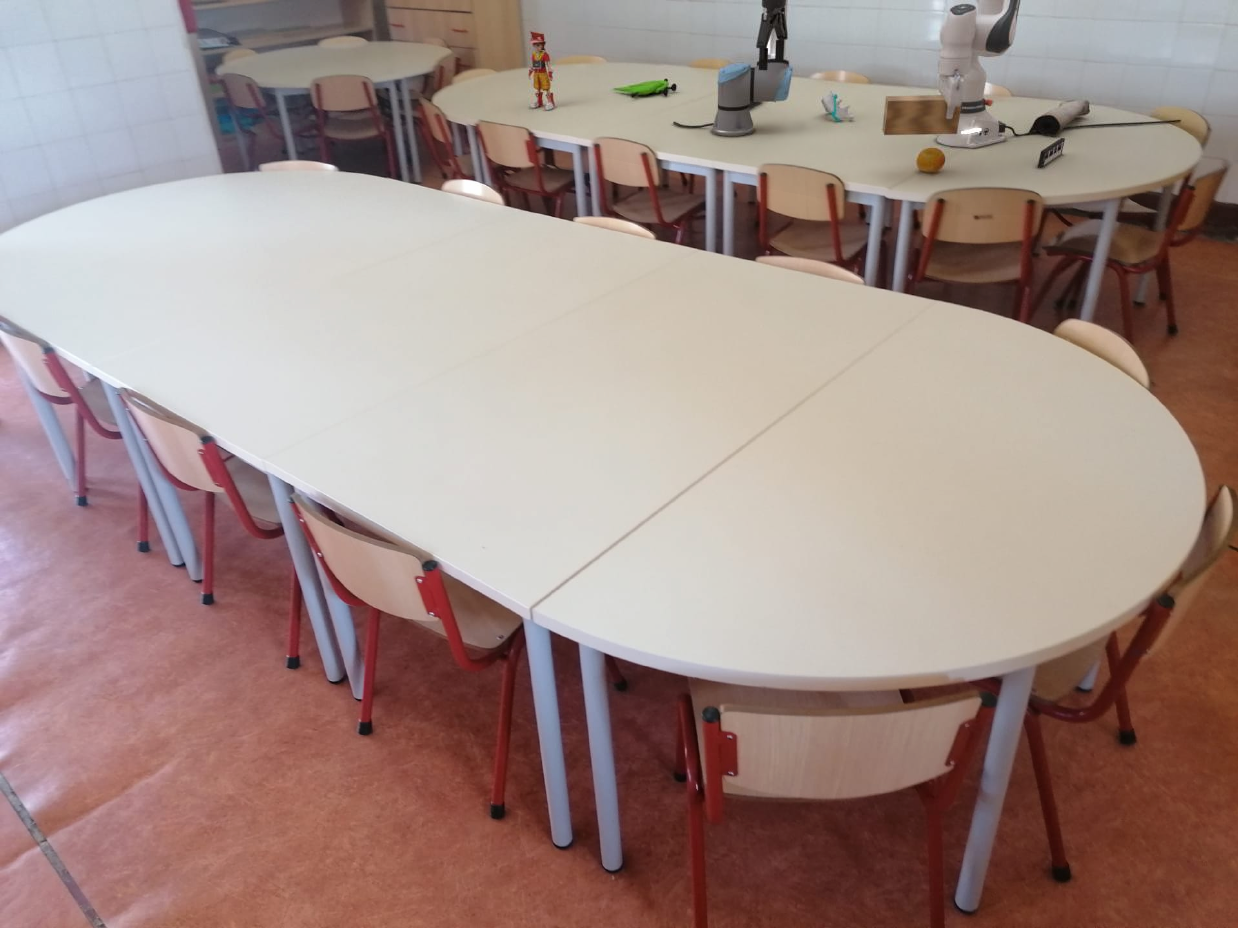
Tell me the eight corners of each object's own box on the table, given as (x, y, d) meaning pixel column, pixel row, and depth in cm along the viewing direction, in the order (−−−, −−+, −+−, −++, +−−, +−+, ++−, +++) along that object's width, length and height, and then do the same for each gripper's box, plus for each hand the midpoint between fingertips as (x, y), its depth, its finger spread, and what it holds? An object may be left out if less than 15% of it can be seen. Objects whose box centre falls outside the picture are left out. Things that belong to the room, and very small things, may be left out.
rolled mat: (1057, 104, 331) (1081, 87, 323) (1070, 125, 332) (1095, 108, 324) (1024, 126, 314) (1049, 109, 306) (1039, 148, 314) (1064, 131, 306)
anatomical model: (816, 90, 346) (842, 83, 346) (819, 117, 352) (844, 110, 352) (827, 99, 334) (853, 92, 333) (830, 127, 340) (856, 120, 339)
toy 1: (525, 109, 381) (517, 32, 364) (534, 104, 388) (527, 28, 371) (550, 110, 377) (543, 32, 360) (559, 105, 384) (553, 28, 367)
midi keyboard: (1041, 167, 283) (1045, 151, 280) (1037, 167, 283) (1040, 151, 280) (1062, 154, 293) (1065, 138, 290) (1057, 153, 294) (1061, 137, 291)
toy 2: (686, 85, 398) (631, 84, 414) (685, 72, 395) (629, 72, 411) (651, 104, 381) (596, 103, 397) (650, 92, 378) (594, 91, 394)
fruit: (910, 163, 282) (927, 140, 279) (912, 165, 290) (928, 143, 287) (933, 178, 281) (950, 155, 278) (933, 180, 289) (950, 157, 286)
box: (884, 135, 276) (888, 101, 270) (882, 130, 281) (885, 96, 275) (957, 134, 273) (962, 99, 267) (953, 128, 278) (959, 94, 272)
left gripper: (769, -1, 270) (767, 74, 282) (800, -13, 287) (796, 58, 300) (747, -1, 274) (745, 73, 286) (778, -13, 291) (775, 57, 303)
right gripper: (971, 74, 256) (963, 124, 264) (959, 59, 273) (952, 106, 281) (948, 74, 257) (941, 124, 265) (937, 60, 274) (931, 107, 282)
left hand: (771, 66), depth 293 cm, fingers open, 13 cm apart
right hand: (946, 115), depth 273 cm, fingers closed on box, 6 cm apart
